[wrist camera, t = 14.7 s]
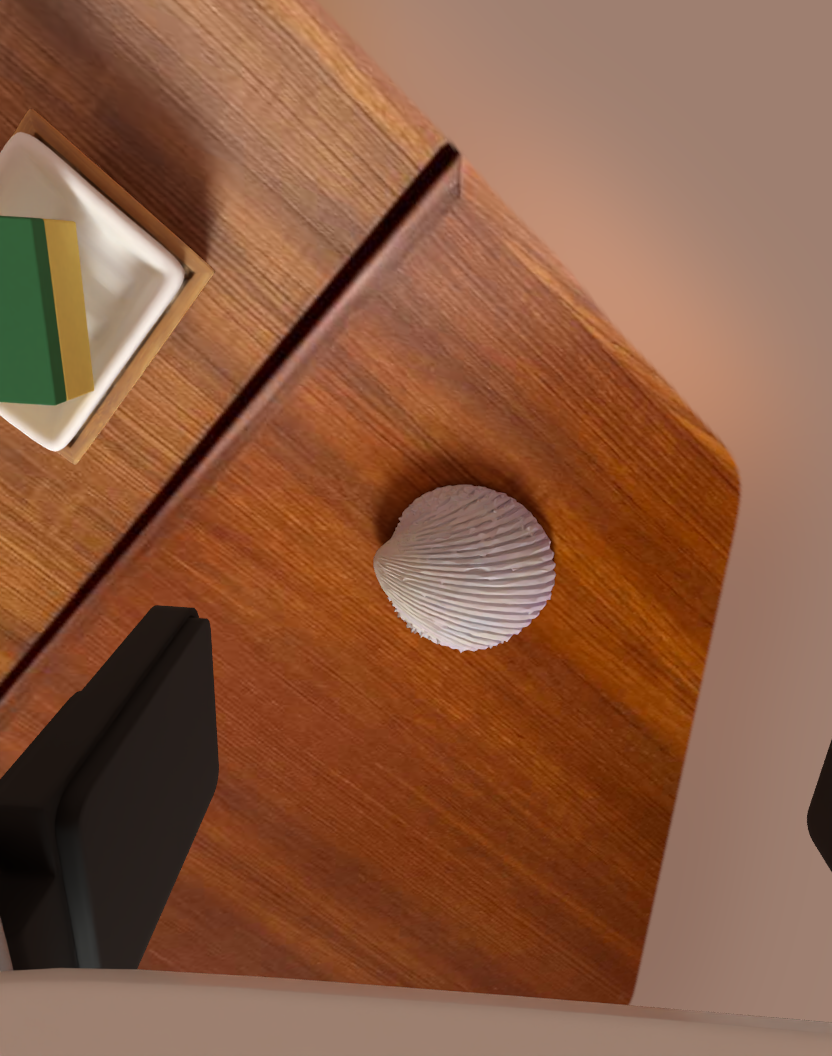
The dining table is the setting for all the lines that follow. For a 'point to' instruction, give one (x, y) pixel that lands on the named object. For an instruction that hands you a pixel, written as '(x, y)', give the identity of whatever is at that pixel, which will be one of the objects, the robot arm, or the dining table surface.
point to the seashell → (466, 567)
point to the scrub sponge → (42, 313)
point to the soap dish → (98, 277)
